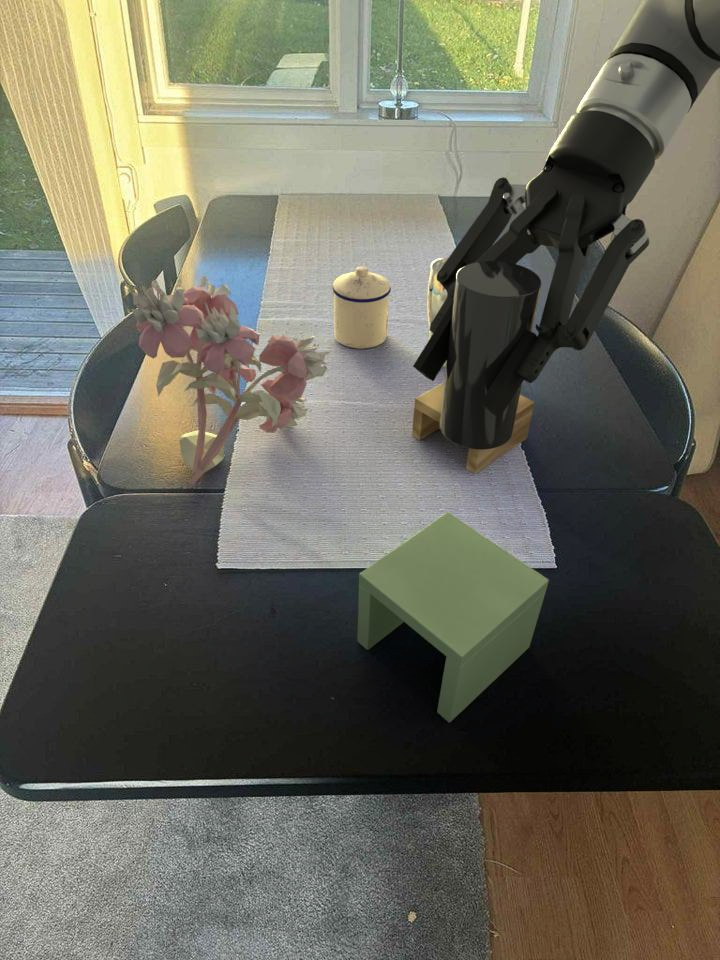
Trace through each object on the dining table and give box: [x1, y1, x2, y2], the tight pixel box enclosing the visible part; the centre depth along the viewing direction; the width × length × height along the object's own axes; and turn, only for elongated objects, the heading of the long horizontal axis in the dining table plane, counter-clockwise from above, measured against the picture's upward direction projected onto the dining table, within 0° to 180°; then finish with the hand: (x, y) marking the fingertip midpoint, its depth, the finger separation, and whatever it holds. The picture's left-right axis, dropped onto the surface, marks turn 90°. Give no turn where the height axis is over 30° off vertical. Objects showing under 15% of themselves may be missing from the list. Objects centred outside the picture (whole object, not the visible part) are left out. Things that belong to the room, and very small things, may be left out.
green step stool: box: [357, 511, 550, 724], centre depth 66 cm, size 12×12×10 cm
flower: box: [131, 275, 332, 487], centre depth 86 cm, size 20×22×25 cm
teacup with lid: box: [332, 265, 392, 350], centre depth 112 cm, size 12×9×12 cm
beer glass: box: [426, 256, 449, 368], centre depth 105 cm, size 7×7×15 cm
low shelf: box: [411, 382, 535, 475], centre depth 92 cm, size 11×11×6 cm
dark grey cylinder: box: [439, 261, 542, 450], centre depth 57 cm, size 6×6×14 cm
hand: (455, 391), depth 56 cm, fingers closed on dark grey cylinder, 6 cm apart
